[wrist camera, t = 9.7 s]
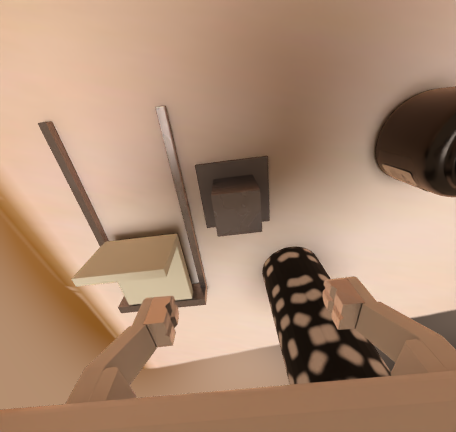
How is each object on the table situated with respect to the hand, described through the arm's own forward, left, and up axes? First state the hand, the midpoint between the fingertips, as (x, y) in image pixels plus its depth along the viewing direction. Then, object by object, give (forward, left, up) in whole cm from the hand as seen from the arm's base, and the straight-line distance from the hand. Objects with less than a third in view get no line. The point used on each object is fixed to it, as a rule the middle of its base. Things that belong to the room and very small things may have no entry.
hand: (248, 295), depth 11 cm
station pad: (0, 0, -15) cm, 15 cm away
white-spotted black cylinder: (+13, +7, -15) cm, 21 cm away
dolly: (+8, -12, -15) cm, 21 cm away
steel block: (0, 0, -15) cm, 15 cm away
